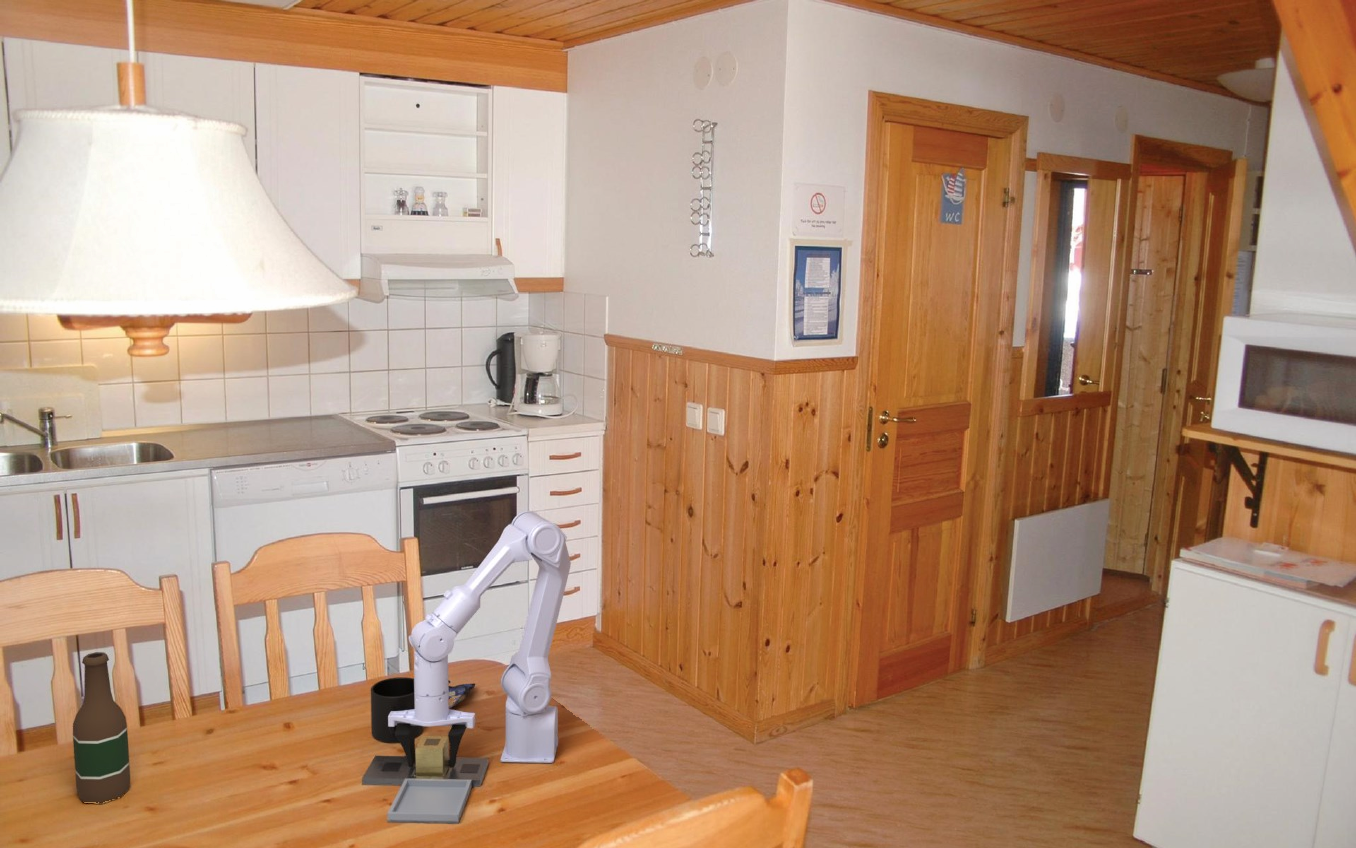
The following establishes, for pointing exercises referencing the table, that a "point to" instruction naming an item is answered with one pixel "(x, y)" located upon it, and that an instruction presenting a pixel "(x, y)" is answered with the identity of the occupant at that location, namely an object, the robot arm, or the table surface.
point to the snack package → (459, 692)
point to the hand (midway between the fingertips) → (432, 764)
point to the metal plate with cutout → (397, 770)
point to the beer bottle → (100, 737)
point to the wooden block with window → (432, 756)
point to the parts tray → (430, 801)
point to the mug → (391, 706)
